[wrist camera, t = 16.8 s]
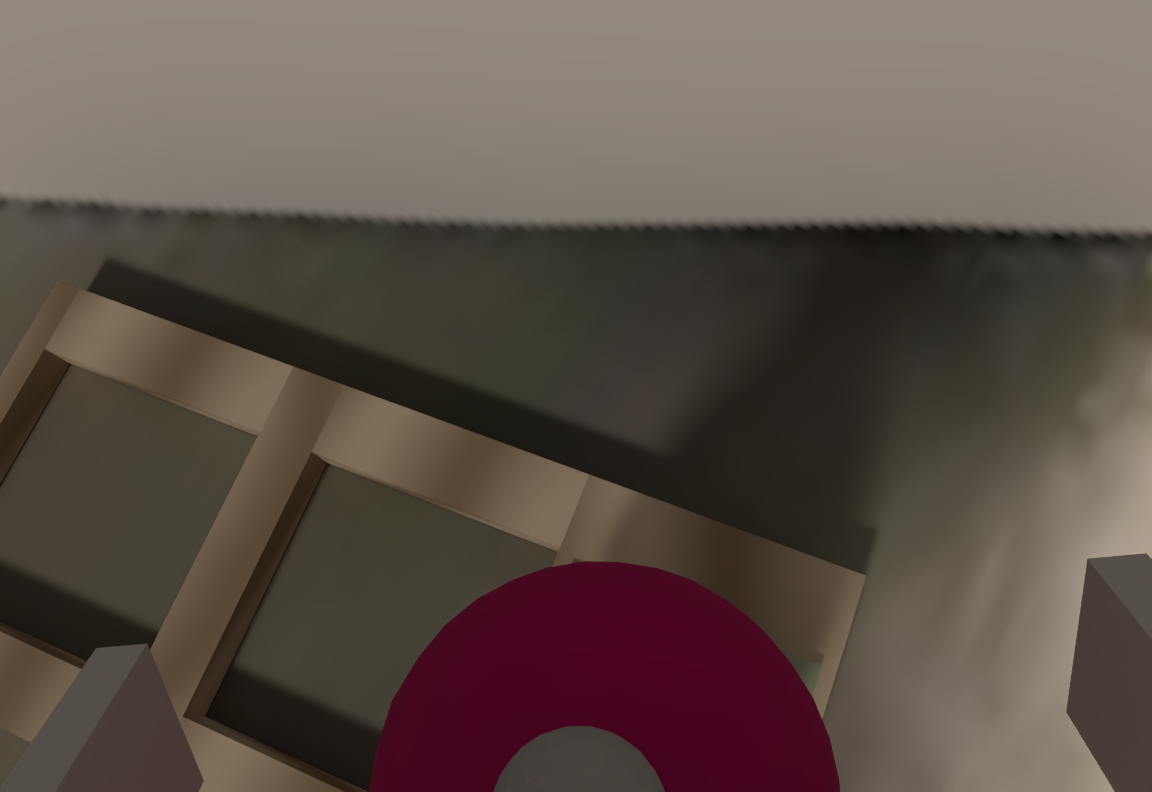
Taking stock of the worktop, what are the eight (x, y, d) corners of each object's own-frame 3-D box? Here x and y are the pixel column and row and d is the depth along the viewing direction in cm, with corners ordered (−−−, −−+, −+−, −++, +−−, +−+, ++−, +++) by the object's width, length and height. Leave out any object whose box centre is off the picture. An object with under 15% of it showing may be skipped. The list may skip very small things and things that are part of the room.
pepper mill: (746, 920, 26) (947, 1505, 7) (490, 851, 27) (53, 1185, 8) (787, 650, 28) (1031, 520, 9) (549, 597, 29) (314, 381, 10)
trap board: (-126, 651, 32) (-170, 647, 31) (81, 297, 36) (52, 276, 34) (710, 1058, 26) (713, 1082, 24) (857, 582, 30) (868, 574, 28)
